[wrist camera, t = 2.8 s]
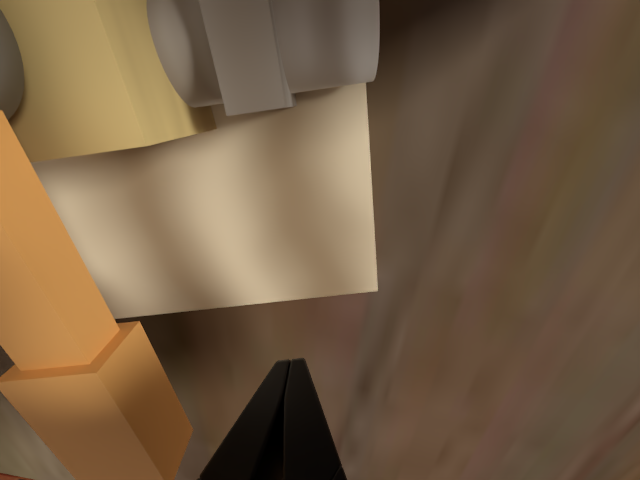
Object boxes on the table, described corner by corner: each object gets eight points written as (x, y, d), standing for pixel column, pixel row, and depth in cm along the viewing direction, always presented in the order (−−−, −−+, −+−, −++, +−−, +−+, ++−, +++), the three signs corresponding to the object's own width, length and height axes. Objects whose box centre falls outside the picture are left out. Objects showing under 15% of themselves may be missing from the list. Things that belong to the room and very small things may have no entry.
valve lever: (-44, -87, 5) (-225, -182, 3) (201, 429, 11) (179, 488, 9) (-215, -53, 5) (-466, -126, 3) (116, 436, 11) (79, 495, 9)
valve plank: (347, -145, 9) (396, -600, 3) (374, 278, 16) (406, 384, 10) (-160, -48, 10) (-831, -259, 4) (63, 312, 17) (-78, 427, 11)
